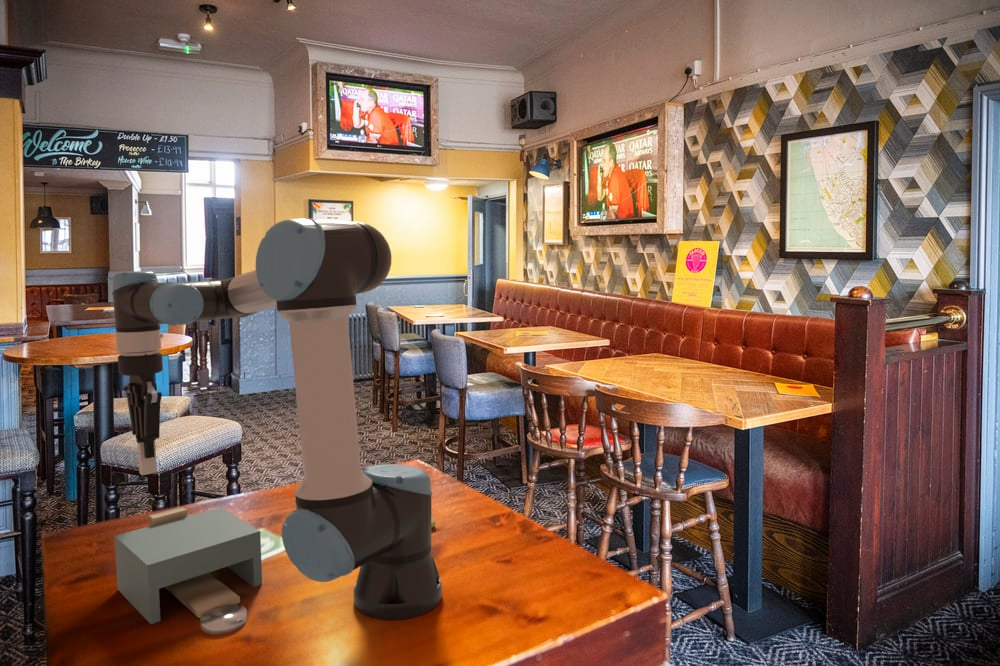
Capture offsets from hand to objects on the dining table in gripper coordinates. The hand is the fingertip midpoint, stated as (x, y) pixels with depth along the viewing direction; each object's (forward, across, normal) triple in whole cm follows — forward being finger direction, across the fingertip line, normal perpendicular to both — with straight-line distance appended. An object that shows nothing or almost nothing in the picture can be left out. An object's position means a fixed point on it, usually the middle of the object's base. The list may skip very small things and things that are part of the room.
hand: (148, 472), depth 135 cm
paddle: (+17, -19, 0) cm, 26 cm away
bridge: (+17, -18, 0) cm, 25 cm away
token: (+18, -34, +1) cm, 38 cm away
